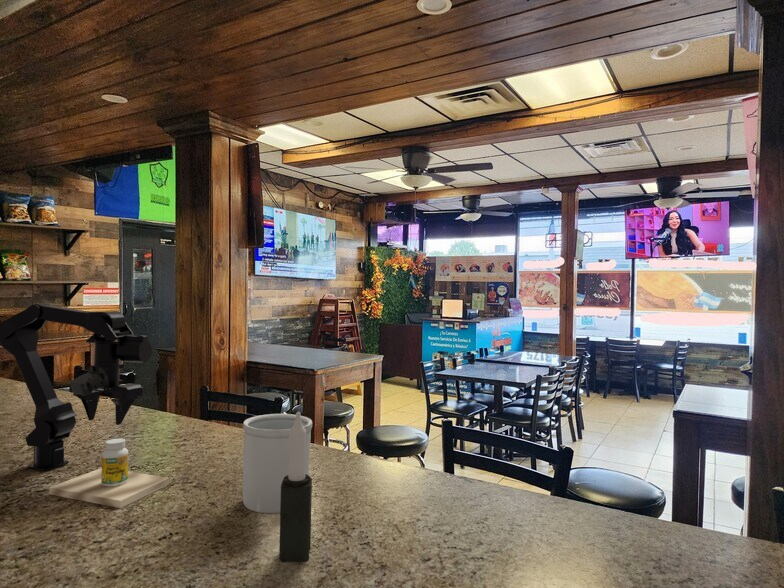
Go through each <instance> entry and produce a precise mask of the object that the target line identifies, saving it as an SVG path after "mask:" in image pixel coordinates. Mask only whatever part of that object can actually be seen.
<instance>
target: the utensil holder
mask: <svg viewBox="0 0 784 588" xmlns="http://www.w3.org/2000/svg"><path fill="white" fill-rule="evenodd" d="M300 418H301V421H302V425H303V427H304V428H305V430H306V467H305V474H307V475H309V472H310V454H311V453H310V452H311V439H312V438H311V433H312V428H313V420H312V419H311V418H310V417H307V416H303V415H300ZM295 419H296V414H291V413H270V414H263V415H262V414H261V415H256V416H252V417H249V418H246V419H245V420H244V421H243V424H242V429H243V431H244V433H243V434H244V436H243V440H244V441H243V472H242V475H243V478H242V479H243V481H242V489H243V490H242V492H243V493H242V494H243V495H242V498H243V500H242V501H243V502H242V503H243V505H244V507H245V508H246V509H248V510H250V511H253V512H256V513H262V514H280V502H281V484H282V481H283V479H284V477H285V476H287V475H288V471H289V432H290V430H291V428H292V427H293V425H294V422H295ZM309 476H310V475H309Z"/></svg>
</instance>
